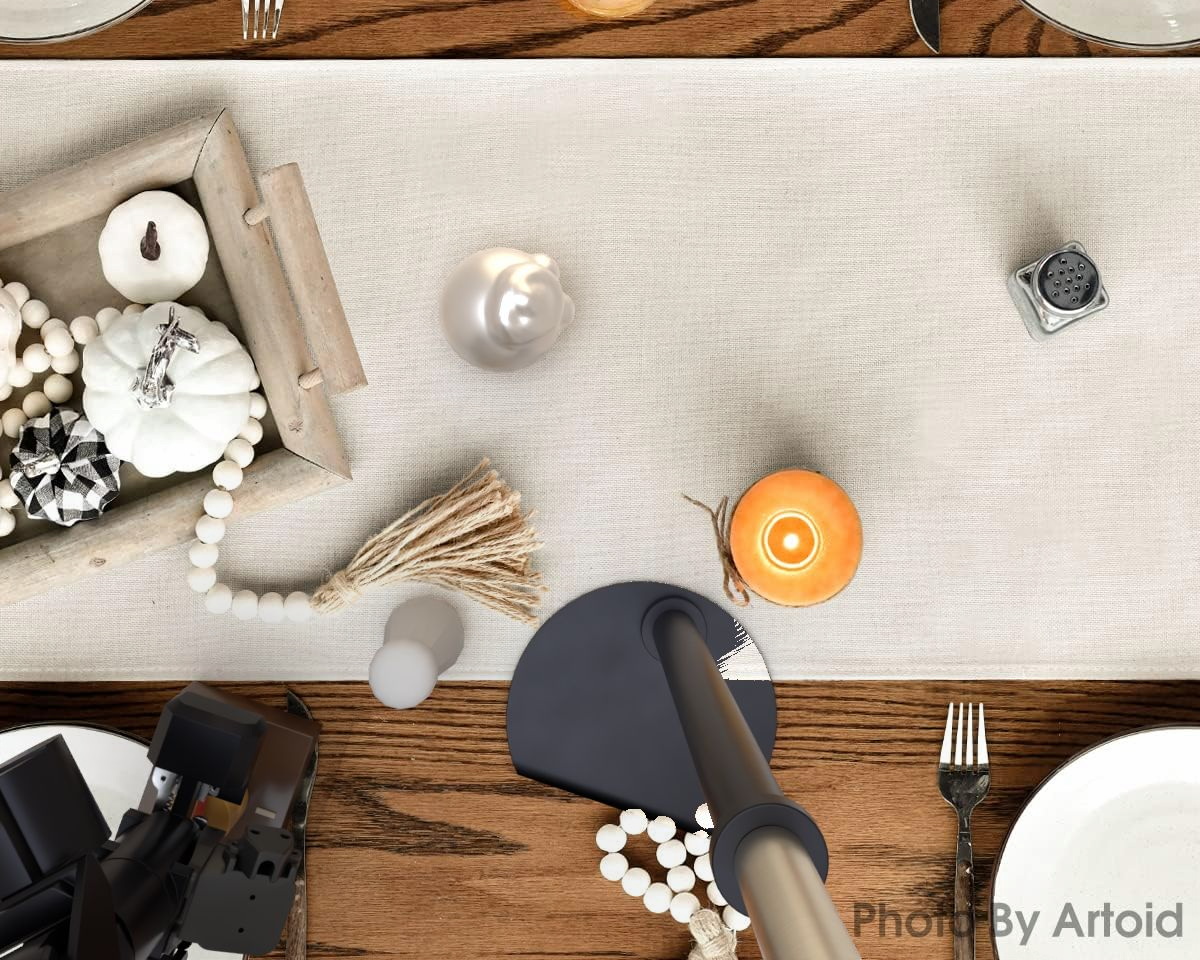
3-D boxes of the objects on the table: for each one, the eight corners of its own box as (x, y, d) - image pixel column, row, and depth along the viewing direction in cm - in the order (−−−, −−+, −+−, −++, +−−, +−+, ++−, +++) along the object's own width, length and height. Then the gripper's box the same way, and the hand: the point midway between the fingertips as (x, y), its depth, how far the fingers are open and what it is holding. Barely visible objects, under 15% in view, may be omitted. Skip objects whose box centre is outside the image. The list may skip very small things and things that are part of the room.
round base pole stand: (725, 888, 77) (1001, 1797, 27) (469, 802, 77) (278, 1561, 27) (811, 631, 78) (1233, 1060, 28) (558, 544, 78) (531, 822, 28)
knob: (236, 836, 73) (215, 864, 69) (176, 816, 73) (152, 842, 69) (257, 776, 74) (238, 800, 69) (198, 756, 73) (174, 779, 69)
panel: (268, 880, 76) (255, 901, 73) (138, 836, 76) (119, 856, 73) (323, 723, 77) (313, 738, 74) (194, 679, 77) (178, 692, 73)
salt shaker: (377, 608, 77) (338, 652, 64) (449, 577, 77) (424, 615, 64) (408, 681, 77) (375, 740, 64) (480, 650, 77) (461, 702, 64)
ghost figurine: (554, 389, 78) (552, 389, 68) (432, 355, 78) (411, 350, 68) (587, 273, 78) (589, 256, 68) (465, 238, 78) (450, 217, 68)
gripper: (199, 1121, 57) (279, 964, 73) (313, 794, 58) (369, 708, 73) (5, 1057, 57) (127, 913, 73) (122, 730, 58) (218, 657, 73)
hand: (215, 799), depth 73 cm, fingers open, 5 cm apart
